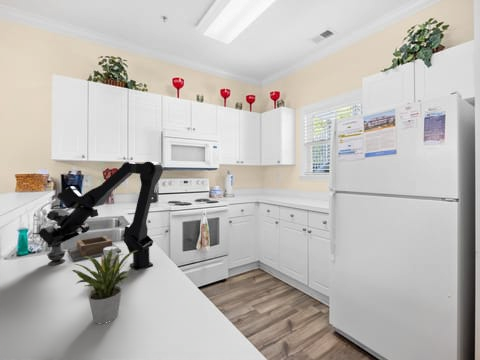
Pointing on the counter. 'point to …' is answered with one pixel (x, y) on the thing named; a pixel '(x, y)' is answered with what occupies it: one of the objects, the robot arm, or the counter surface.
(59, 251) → the grey stone pawn figure
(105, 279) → the house plant
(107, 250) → the supplement bottle
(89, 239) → the end holder
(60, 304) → the counter surface
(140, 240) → the robot arm
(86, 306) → the counter surface
